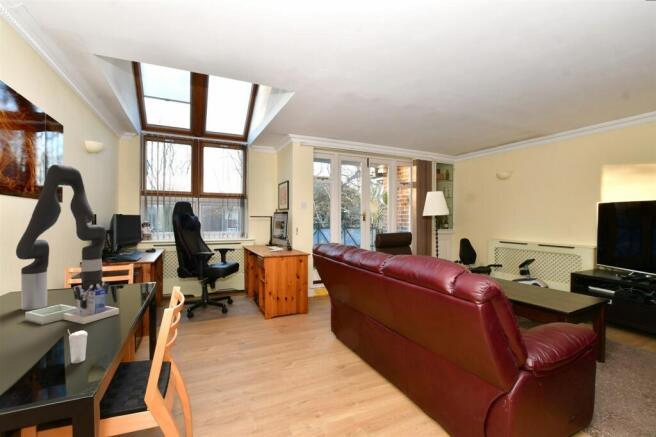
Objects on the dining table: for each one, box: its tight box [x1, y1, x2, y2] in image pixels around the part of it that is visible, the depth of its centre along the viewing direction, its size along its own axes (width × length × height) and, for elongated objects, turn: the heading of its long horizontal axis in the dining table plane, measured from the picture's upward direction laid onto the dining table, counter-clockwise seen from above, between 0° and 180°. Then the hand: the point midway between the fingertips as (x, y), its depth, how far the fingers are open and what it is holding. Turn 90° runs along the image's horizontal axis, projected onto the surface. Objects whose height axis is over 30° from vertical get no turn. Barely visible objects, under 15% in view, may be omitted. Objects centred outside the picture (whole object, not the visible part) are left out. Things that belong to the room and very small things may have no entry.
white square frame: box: [62, 305, 120, 325], centre depth 137 cm, size 15×15×2 cm
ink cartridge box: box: [76, 287, 107, 317], centre depth 137 cm, size 10×6×14 cm, turn 78°
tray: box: [24, 304, 78, 325], centre depth 135 cm, size 13×13×4 cm
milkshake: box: [67, 328, 88, 364], centre depth 95 cm, size 4×5×10 cm
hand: (91, 306), depth 137 cm, fingers closed on ink cartridge box, 5 cm apart
